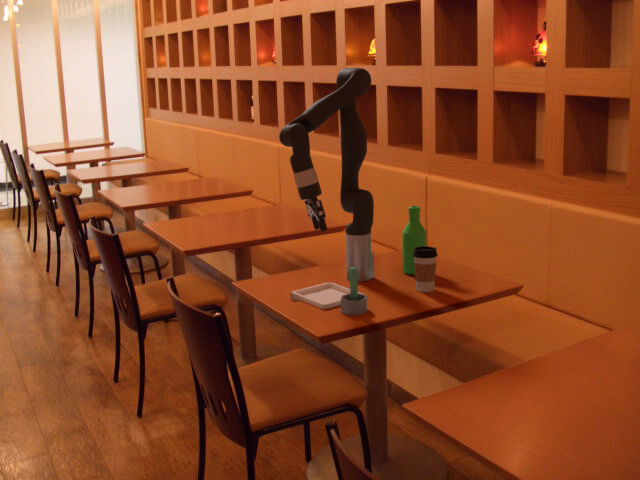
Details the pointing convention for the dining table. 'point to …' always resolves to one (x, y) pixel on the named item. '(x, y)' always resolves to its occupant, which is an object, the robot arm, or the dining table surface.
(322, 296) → the tray
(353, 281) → the green rounded rod
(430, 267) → the coffee cup
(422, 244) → the bottle
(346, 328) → the dining table surface
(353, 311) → the cup
